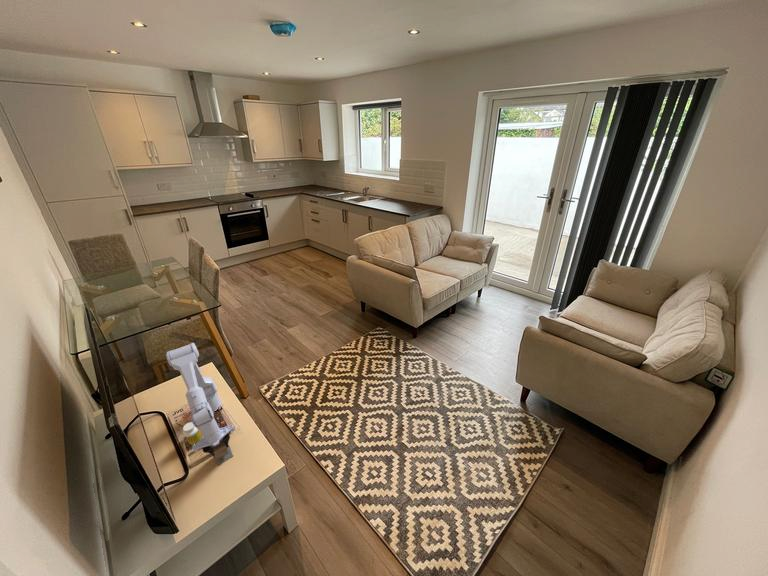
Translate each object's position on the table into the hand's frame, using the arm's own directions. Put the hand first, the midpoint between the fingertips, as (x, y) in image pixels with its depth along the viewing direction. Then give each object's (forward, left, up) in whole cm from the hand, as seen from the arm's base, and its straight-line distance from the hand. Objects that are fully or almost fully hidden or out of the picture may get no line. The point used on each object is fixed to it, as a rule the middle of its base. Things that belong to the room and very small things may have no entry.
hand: (220, 449), depth 124 cm
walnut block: (0, 0, -2) cm, 2 cm away
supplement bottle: (-15, -7, -4) cm, 17 cm away
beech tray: (-11, -5, -4) cm, 13 cm away
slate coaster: (0, 0, -4) cm, 4 cm away
